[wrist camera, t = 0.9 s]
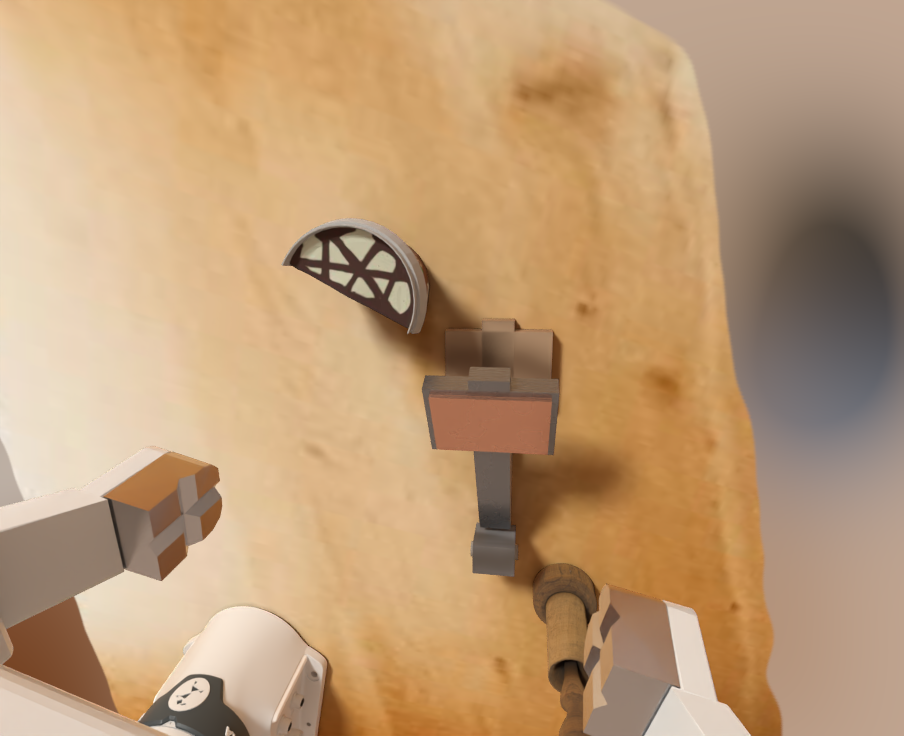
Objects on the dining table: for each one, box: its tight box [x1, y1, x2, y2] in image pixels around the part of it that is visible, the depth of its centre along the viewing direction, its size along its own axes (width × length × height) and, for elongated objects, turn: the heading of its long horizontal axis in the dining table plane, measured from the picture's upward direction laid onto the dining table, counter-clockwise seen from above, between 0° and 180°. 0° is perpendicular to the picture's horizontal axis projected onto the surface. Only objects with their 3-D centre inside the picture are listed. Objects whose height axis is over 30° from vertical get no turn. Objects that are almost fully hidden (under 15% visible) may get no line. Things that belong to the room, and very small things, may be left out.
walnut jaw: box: [445, 319, 553, 577], centre depth 46 cm, size 25×10×6 cm, turn 0°
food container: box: [282, 218, 430, 334], centre depth 41 cm, size 12×6×10 cm, turn 62°
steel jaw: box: [422, 367, 559, 530], centre depth 41 cm, size 20×10×2 cm, turn 179°
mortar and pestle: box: [533, 564, 597, 736], centre depth 43 cm, size 7×6×18 cm
